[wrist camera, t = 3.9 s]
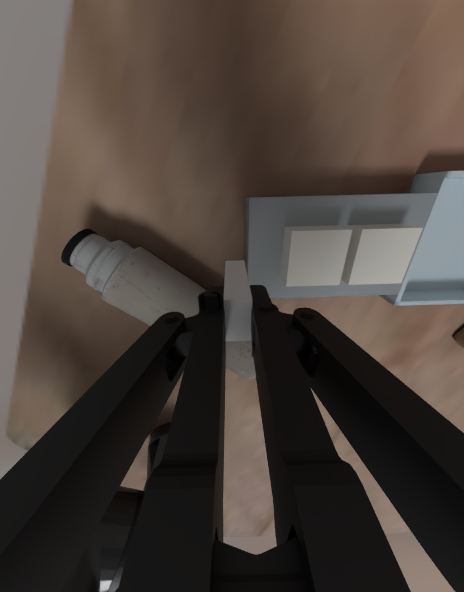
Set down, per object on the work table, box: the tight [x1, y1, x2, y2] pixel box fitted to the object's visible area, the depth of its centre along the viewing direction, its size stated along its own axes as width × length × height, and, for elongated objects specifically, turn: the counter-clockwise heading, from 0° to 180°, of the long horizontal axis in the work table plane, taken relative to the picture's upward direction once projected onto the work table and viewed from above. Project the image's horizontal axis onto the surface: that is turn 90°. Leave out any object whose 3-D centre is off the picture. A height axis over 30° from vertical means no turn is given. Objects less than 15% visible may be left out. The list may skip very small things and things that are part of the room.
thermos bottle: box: [61, 229, 256, 379], centre depth 27 cm, size 8×8×28 cm
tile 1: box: [341, 224, 423, 285], centre depth 22 cm, size 6×6×3 cm
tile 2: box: [280, 225, 353, 287], centre depth 22 cm, size 6×6×3 cm
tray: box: [379, 171, 464, 306], centre depth 26 cm, size 14×16×4 cm
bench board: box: [245, 193, 438, 298], centre depth 26 cm, size 20×12×4 cm, turn 91°
